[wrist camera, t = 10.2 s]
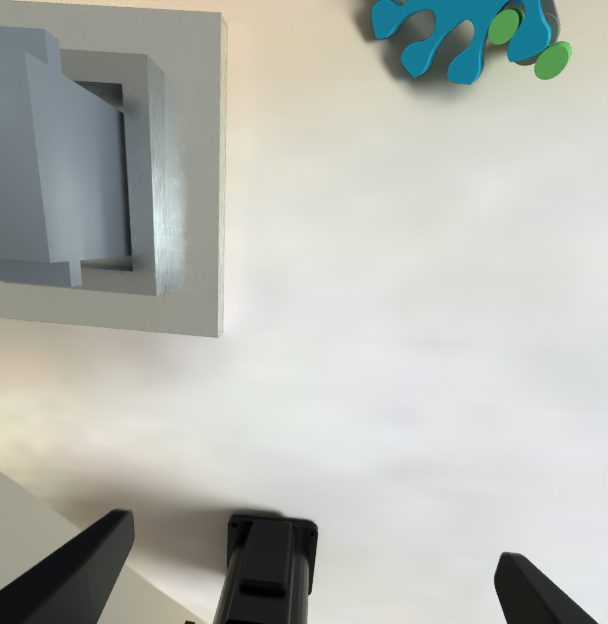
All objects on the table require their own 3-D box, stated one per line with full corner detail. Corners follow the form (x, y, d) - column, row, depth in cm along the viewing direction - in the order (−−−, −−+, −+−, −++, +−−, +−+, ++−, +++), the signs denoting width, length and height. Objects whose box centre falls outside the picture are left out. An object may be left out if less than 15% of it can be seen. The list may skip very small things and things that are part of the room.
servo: (135, 274, 17) (35, 294, 11) (61, 267, 17) (-79, 284, 11) (125, 90, 15) (-6, -10, 9) (40, 84, 15) (-147, -18, 9)
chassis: (222, 332, 19) (208, 346, 17) (7, 312, 19) (-38, 323, 17) (227, 27, 15) (209, -14, 13) (-43, 10, 16) (-110, -31, 13)
